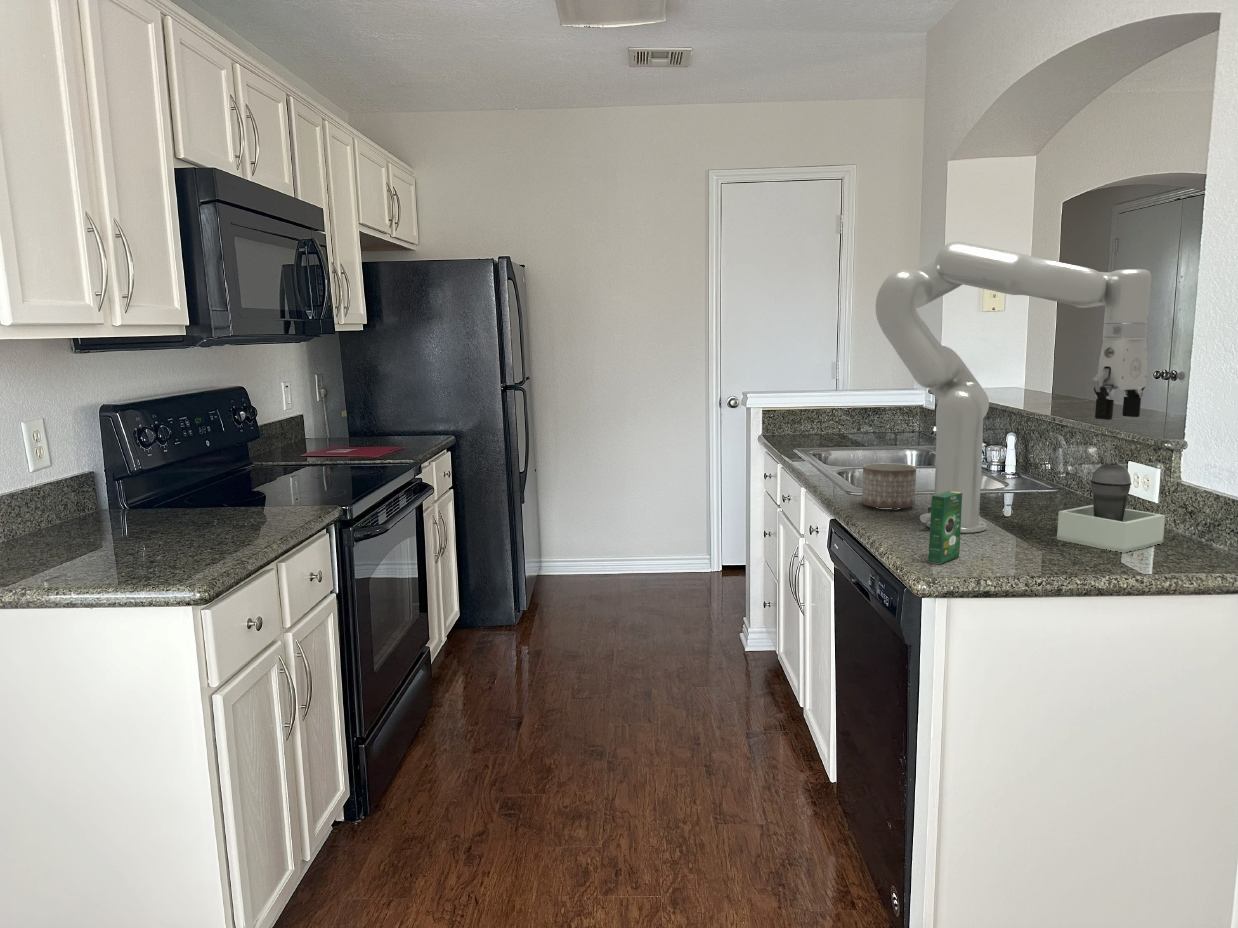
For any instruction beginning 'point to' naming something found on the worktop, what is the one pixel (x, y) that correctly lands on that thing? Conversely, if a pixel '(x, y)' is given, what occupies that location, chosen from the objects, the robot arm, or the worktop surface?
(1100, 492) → the beverage cup
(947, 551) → the green upright box
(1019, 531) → the worktop surface
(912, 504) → the planter
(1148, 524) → the walled box
